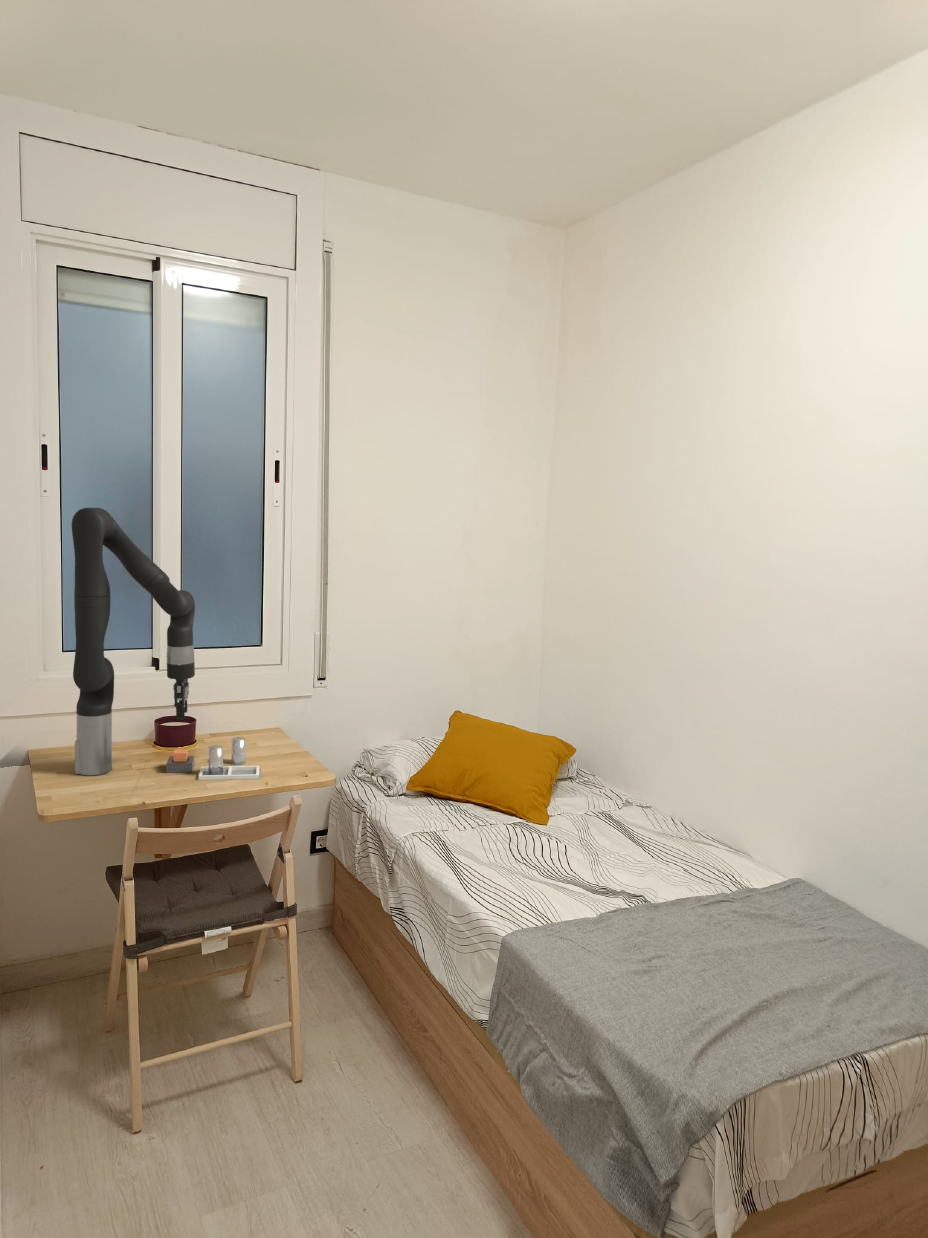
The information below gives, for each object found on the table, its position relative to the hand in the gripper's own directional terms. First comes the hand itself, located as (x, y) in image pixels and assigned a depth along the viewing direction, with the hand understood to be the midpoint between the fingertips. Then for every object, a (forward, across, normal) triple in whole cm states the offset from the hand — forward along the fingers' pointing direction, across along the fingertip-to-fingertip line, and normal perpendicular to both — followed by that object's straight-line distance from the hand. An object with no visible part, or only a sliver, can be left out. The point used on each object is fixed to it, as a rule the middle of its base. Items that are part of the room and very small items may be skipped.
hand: (181, 716), depth 241 cm
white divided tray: (+17, +6, +13) cm, 23 cm away
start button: (+13, 0, -1) cm, 13 cm away
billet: (+17, -5, +15) cm, 23 cm away
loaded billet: (+16, +6, +9) cm, 19 cm away
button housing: (+17, 0, -1) cm, 17 cm away
